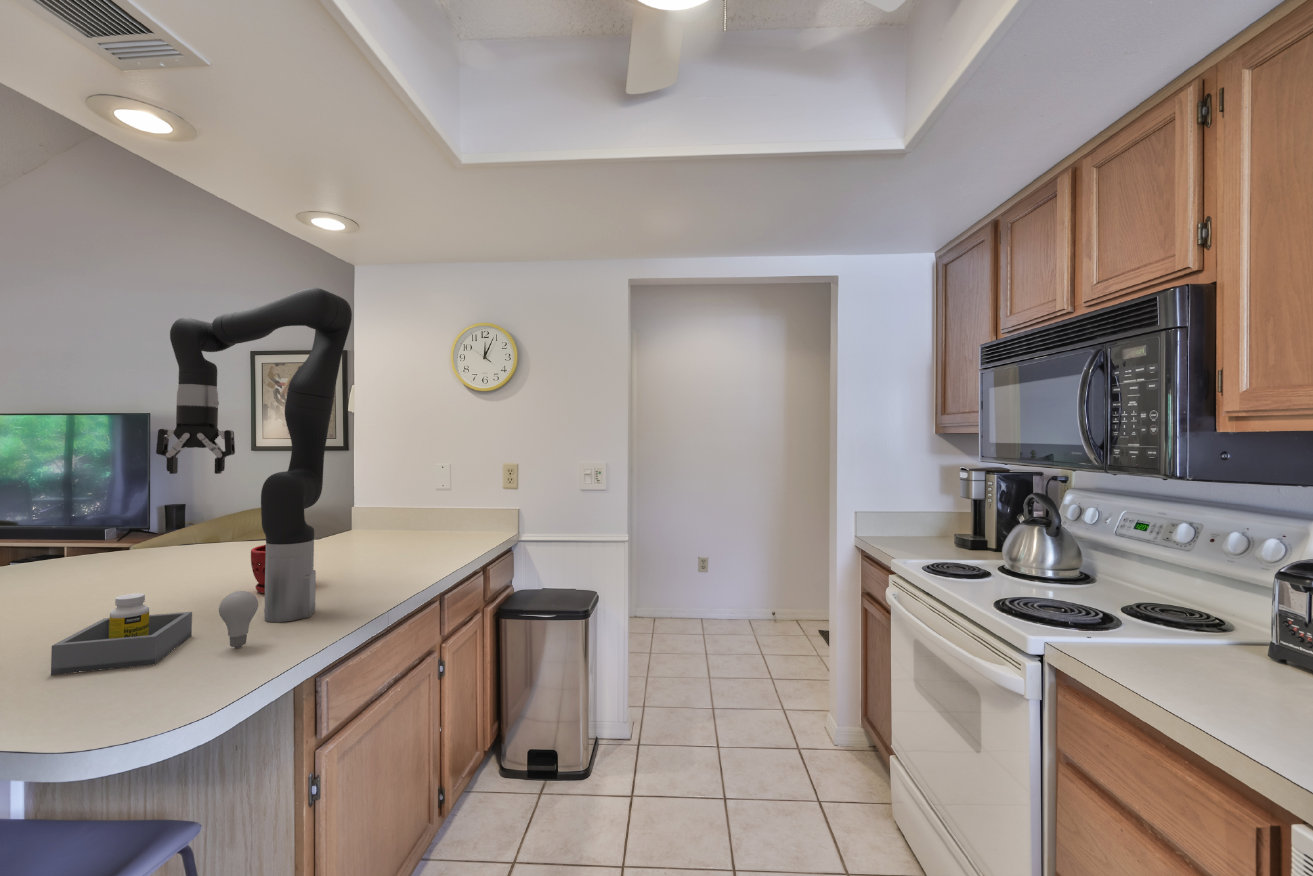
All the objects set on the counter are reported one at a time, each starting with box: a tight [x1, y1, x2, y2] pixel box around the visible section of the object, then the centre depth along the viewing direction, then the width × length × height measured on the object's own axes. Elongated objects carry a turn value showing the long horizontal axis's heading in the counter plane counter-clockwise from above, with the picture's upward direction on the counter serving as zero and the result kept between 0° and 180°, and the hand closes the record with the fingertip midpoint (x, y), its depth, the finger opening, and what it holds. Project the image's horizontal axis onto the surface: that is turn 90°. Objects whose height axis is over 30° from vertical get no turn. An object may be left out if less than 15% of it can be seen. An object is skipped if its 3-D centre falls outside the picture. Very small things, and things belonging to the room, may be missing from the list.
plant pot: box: [250, 544, 266, 594], centre depth 147 cm, size 13×13×12 cm
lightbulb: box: [218, 590, 259, 649], centre depth 106 cm, size 6×6×11 cm
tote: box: [50, 611, 193, 676], centre depth 102 cm, size 14×15×5 cm
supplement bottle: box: [108, 592, 150, 639], centre depth 102 cm, size 5×5×10 cm
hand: (196, 473), depth 129 cm, fingers open, 8 cm apart
